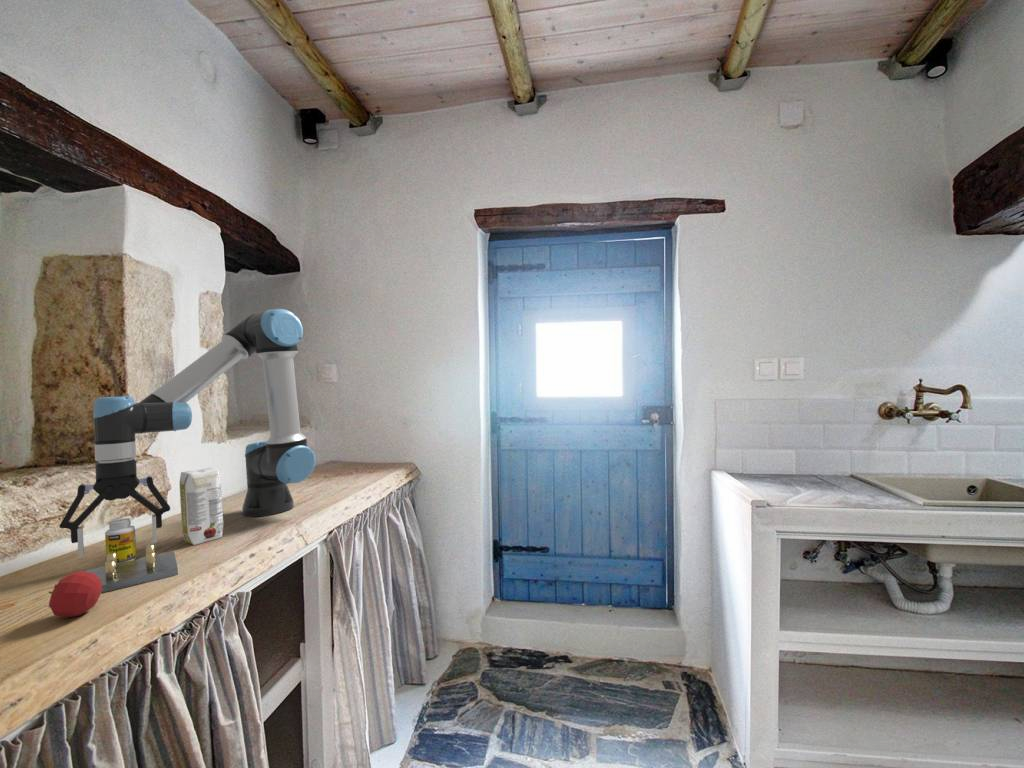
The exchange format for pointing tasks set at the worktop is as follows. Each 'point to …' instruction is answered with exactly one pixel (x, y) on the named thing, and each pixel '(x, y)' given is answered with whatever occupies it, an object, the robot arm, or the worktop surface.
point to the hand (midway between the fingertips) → (119, 548)
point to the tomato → (75, 594)
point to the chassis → (135, 570)
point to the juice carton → (201, 505)
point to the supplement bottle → (121, 540)
